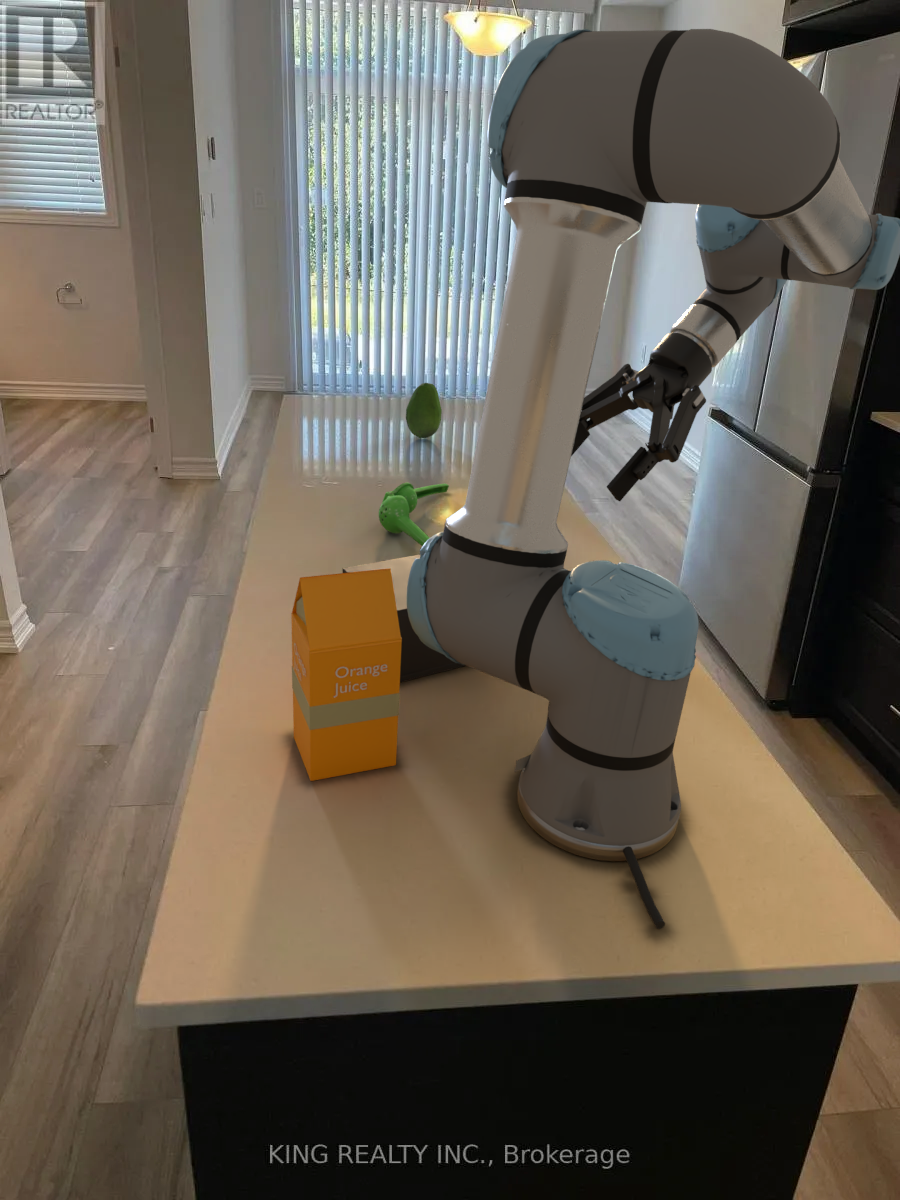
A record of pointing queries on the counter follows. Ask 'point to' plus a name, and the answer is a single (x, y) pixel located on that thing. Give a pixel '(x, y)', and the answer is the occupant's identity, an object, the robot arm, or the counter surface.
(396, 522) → the lime squeezer
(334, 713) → the orange juice
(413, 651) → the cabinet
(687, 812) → the counter surface
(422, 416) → the avocado
